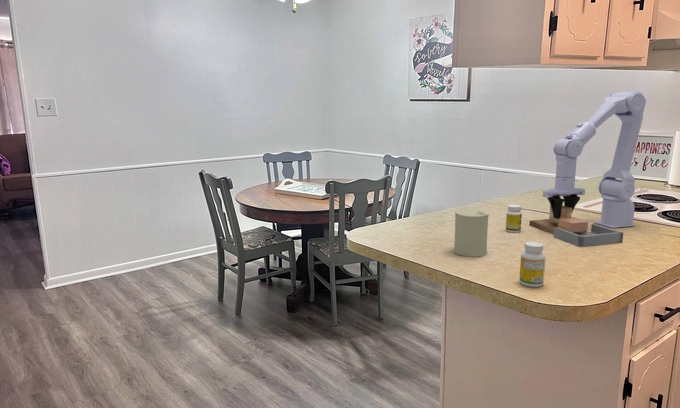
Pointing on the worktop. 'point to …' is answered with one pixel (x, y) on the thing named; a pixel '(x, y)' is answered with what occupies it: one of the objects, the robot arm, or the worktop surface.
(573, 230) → the pink square block
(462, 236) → the can
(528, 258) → the supplement bottle
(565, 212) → the tall beige block
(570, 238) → the tray
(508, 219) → the supplement bottle
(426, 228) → the worktop surface
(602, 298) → the worktop surface
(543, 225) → the board
